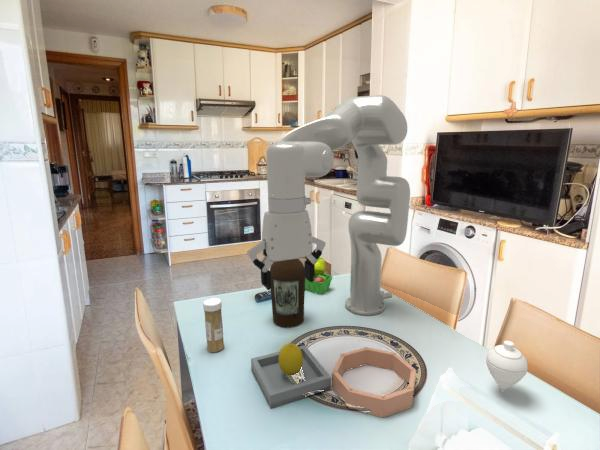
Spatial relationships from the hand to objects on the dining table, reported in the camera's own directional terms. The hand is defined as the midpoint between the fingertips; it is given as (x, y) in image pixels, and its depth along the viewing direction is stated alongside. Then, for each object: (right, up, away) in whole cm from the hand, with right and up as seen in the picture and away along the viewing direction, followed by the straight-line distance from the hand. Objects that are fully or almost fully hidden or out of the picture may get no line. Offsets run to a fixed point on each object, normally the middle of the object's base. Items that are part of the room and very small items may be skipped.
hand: (288, 283), depth 78 cm
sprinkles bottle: (-20, -20, +18) cm, 33 cm away
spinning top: (+46, -24, 0) cm, 52 cm away
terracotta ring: (+19, -23, +2) cm, 30 cm away
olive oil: (-1, -16, +32) cm, 36 cm away
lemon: (0, -22, +5) cm, 23 cm away
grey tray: (0, -23, +5) cm, 23 cm away
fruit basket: (+8, -11, +55) cm, 57 cm away
